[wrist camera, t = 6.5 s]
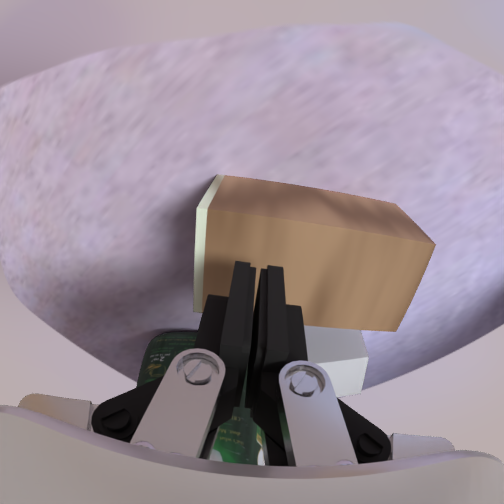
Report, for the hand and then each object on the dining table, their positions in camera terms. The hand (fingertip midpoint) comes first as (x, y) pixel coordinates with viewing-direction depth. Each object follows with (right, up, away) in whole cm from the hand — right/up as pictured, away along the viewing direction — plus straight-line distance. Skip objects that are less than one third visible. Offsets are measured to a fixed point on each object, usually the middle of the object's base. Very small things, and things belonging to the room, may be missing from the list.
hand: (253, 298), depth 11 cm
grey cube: (+5, -4, +10) cm, 12 cm away
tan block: (-2, +2, +4) cm, 5 cm away
